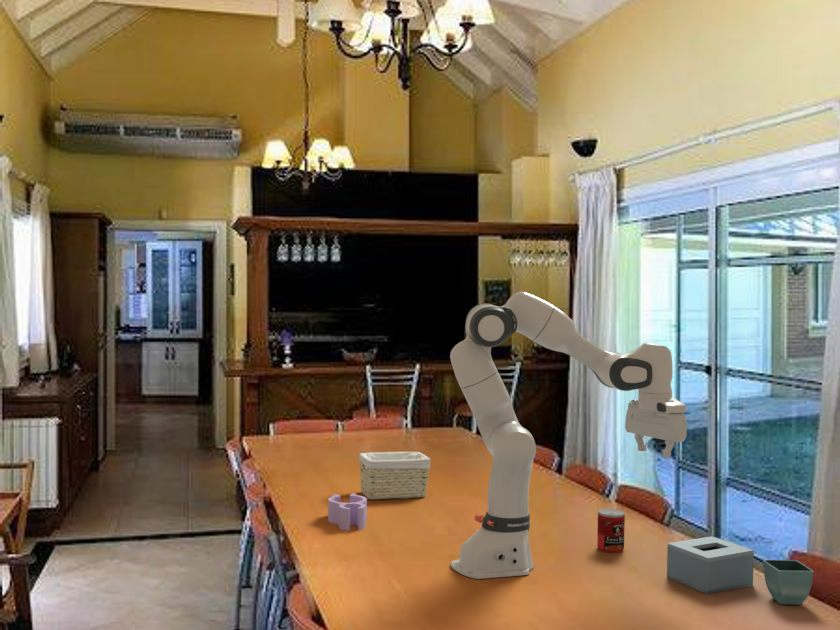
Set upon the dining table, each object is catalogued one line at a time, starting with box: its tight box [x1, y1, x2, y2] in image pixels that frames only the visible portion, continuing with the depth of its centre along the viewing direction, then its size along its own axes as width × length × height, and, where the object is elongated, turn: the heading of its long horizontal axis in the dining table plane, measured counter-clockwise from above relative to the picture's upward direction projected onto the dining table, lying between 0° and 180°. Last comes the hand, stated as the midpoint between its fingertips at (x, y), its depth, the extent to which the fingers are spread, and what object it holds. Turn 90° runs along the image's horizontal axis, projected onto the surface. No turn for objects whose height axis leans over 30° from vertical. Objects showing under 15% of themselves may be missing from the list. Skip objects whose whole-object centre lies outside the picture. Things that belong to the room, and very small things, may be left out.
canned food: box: [596, 508, 626, 554], centre depth 247 cm, size 8×8×11 cm
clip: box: [327, 493, 368, 532], centre depth 272 cm, size 20×12×7 cm, turn 14°
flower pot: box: [762, 559, 815, 606], centre depth 206 cm, size 9×9×9 cm
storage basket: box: [358, 451, 431, 500], centre depth 310 cm, size 24×16×15 cm
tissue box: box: [666, 535, 755, 595], centre depth 220 cm, size 16×14×9 cm
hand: (653, 453), depth 230 cm, fingers open, 8 cm apart
